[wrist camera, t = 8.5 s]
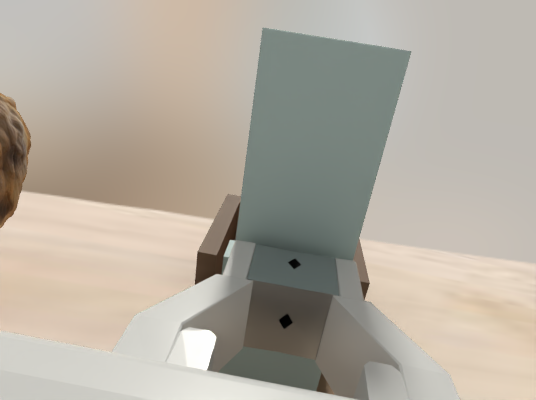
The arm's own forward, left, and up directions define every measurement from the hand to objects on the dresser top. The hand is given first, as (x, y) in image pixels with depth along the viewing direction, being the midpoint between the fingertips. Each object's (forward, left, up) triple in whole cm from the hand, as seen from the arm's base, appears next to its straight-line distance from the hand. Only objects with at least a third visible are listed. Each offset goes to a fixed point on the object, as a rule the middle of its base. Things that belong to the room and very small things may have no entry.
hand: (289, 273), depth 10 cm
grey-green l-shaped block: (0, +2, -6) cm, 6 cm away
